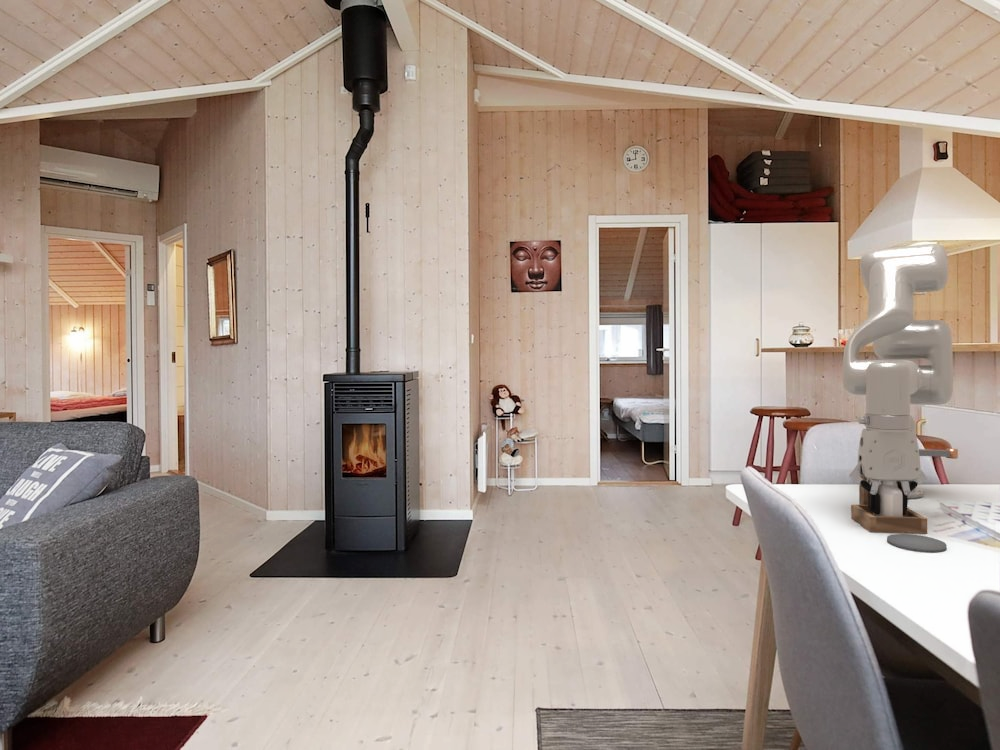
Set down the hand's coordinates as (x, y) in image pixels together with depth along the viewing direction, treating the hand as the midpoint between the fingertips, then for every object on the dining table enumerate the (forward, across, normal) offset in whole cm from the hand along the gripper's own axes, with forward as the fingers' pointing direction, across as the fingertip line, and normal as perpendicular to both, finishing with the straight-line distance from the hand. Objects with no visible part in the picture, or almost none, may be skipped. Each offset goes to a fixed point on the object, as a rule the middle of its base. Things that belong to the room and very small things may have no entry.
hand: (887, 512), depth 123 cm
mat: (+3, 0, -12) cm, 12 cm away
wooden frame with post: (+3, 0, +3) cm, 4 cm away
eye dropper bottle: (+3, 0, 0) cm, 3 cm away
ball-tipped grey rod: (-10, +8, +9) cm, 15 cm away
